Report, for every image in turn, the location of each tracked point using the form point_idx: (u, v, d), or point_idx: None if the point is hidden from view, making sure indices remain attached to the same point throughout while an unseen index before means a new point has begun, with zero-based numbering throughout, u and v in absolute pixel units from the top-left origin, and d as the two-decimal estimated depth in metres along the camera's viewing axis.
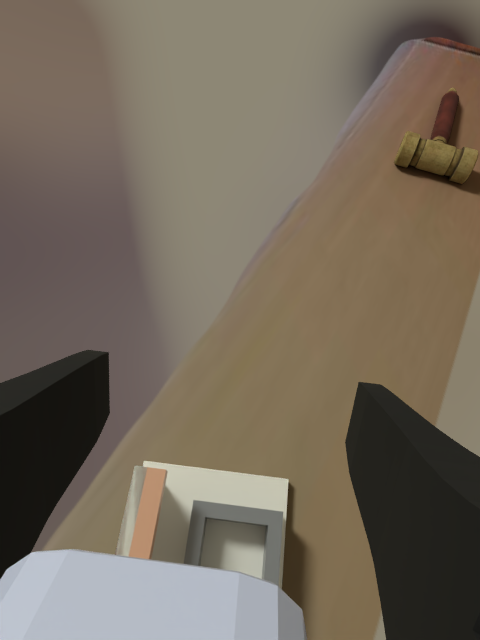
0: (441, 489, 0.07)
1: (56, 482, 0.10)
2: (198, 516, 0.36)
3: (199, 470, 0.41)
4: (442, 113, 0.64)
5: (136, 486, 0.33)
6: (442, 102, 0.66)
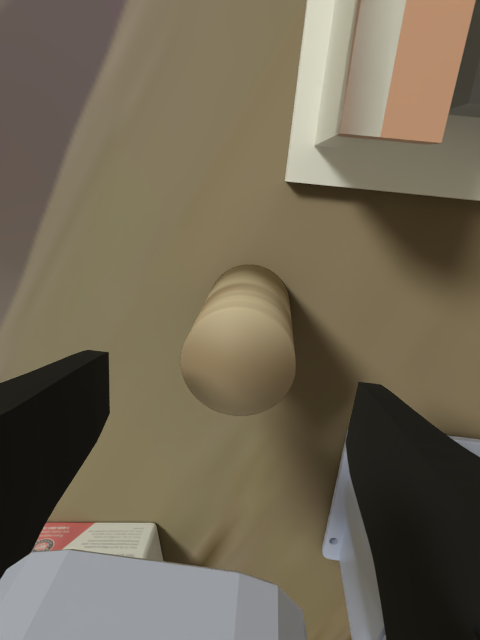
0: (440, 489, 0.07)
1: (56, 482, 0.10)
2: None
3: None
4: None
5: None
6: None
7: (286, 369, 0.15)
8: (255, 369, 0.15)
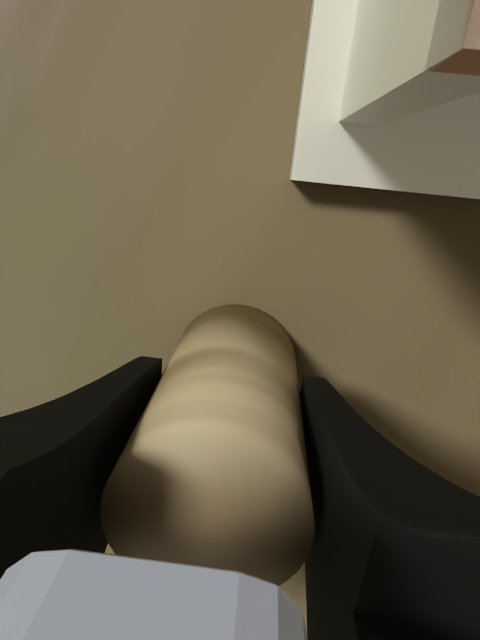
0: (343, 477, 0.07)
1: None
2: None
3: None
4: None
5: None
6: None
7: (297, 534, 0.08)
8: (239, 532, 0.08)
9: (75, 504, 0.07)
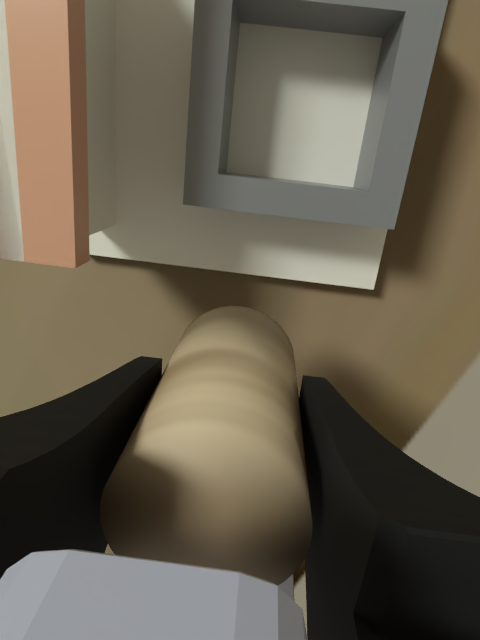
0: (343, 477, 0.07)
1: None
2: None
3: None
4: None
5: None
6: None
7: (294, 539, 0.08)
8: (237, 534, 0.08)
9: (75, 504, 0.07)
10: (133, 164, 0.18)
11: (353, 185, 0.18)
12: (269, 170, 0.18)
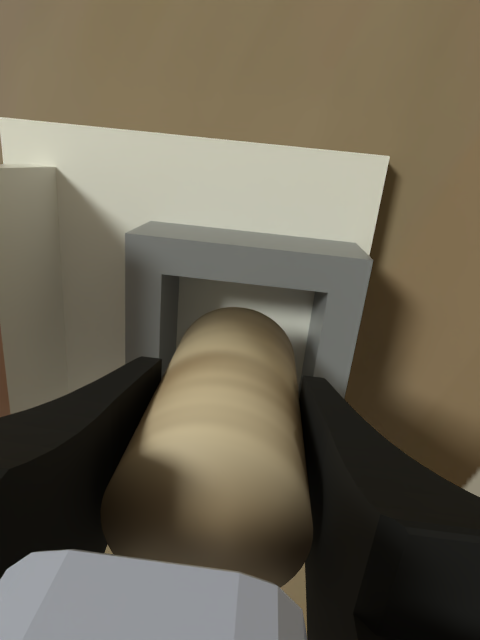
0: (343, 477, 0.07)
1: None
2: (144, 273, 0.14)
3: (148, 139, 0.15)
4: None
5: None
6: None
7: (295, 542, 0.08)
8: (237, 537, 0.08)
9: (75, 504, 0.07)
10: (84, 368, 0.19)
11: (298, 391, 0.18)
12: None
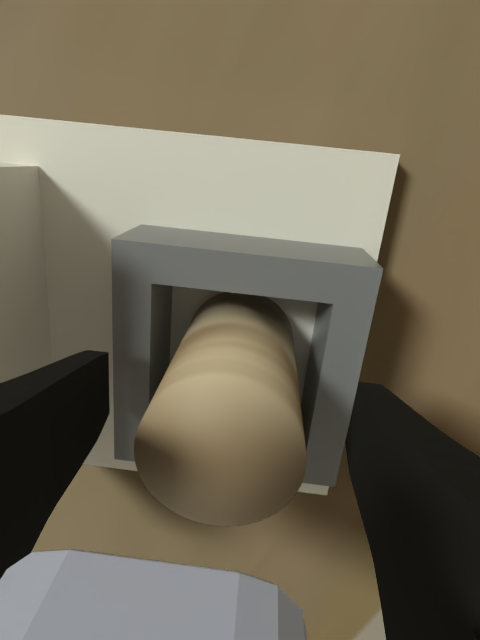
0: (441, 489, 0.07)
1: (56, 482, 0.10)
2: (132, 282, 0.13)
3: (138, 136, 0.14)
4: None
5: None
6: None
7: (292, 470, 0.10)
8: (246, 466, 0.10)
9: None
10: None
11: None
12: None
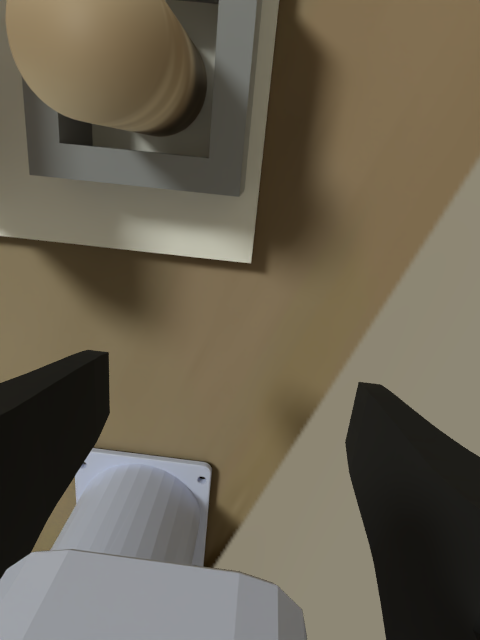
0: (440, 489, 0.07)
1: (56, 482, 0.10)
2: None
3: None
4: None
5: None
6: None
7: (152, 40, 0.10)
8: (110, 39, 0.10)
9: None
10: (1, 139, 0.18)
11: None
12: (134, 143, 0.18)
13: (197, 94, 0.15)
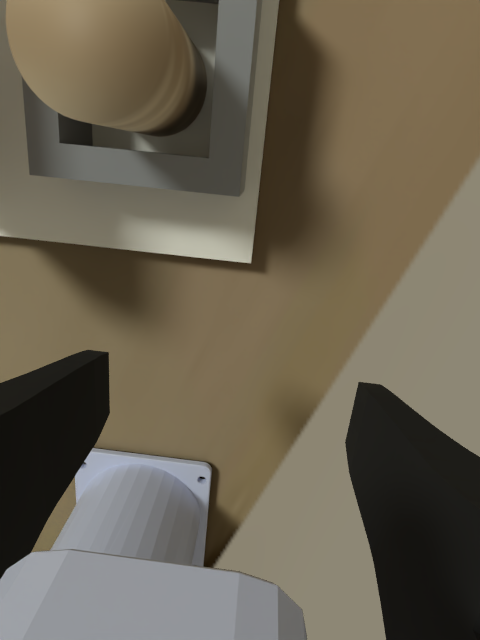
0: (440, 489, 0.07)
1: (56, 482, 0.10)
2: None
3: None
4: None
5: None
6: None
7: (153, 41, 0.10)
8: (110, 39, 0.10)
9: None
10: (1, 139, 0.18)
11: None
12: (134, 143, 0.18)
13: (197, 94, 0.15)
